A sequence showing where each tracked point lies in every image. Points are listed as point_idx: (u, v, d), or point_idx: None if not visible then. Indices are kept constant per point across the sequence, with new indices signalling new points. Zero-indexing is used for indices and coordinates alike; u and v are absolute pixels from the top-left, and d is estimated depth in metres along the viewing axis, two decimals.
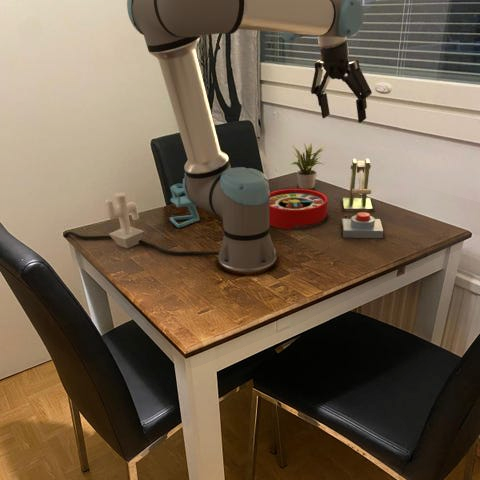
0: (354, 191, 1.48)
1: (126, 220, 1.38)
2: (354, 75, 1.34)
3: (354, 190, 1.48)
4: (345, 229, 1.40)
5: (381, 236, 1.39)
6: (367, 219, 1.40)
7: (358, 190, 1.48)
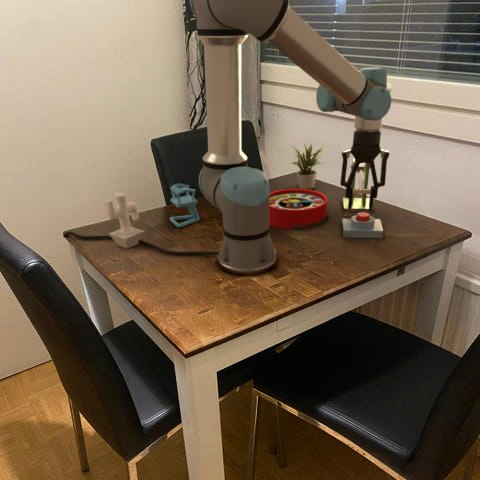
0: (354, 191, 1.48)
1: (126, 220, 1.38)
2: (384, 163, 1.42)
3: (354, 190, 1.48)
4: (345, 229, 1.40)
5: (381, 236, 1.39)
6: (367, 219, 1.40)
7: (358, 190, 1.48)
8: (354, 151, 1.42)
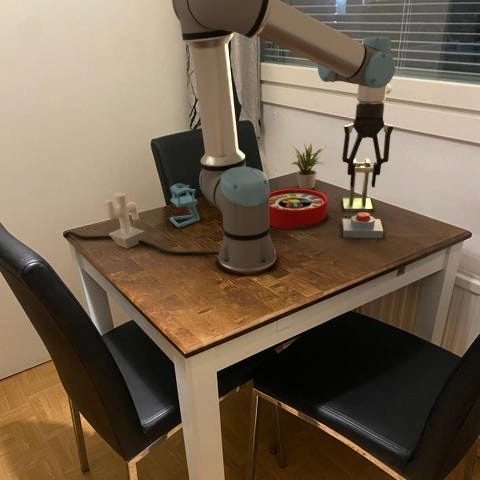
0: (356, 168, 1.44)
1: (126, 220, 1.38)
2: (388, 138, 1.38)
3: (356, 167, 1.44)
4: (345, 229, 1.40)
5: (381, 236, 1.39)
6: (367, 219, 1.40)
7: (361, 167, 1.44)
8: (357, 125, 1.37)
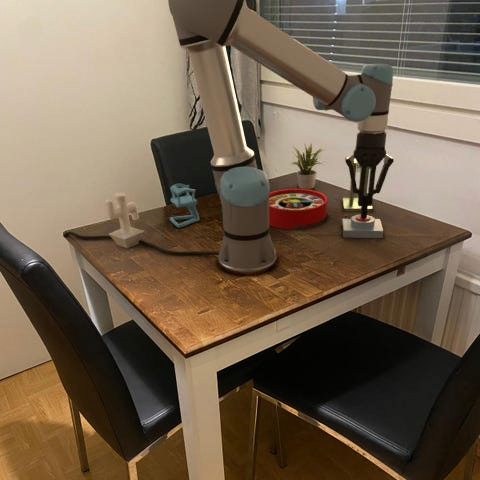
0: None
1: (126, 220, 1.38)
2: (386, 170, 1.32)
3: None
4: (345, 229, 1.40)
5: (381, 236, 1.39)
6: None
7: None
8: (357, 154, 1.31)
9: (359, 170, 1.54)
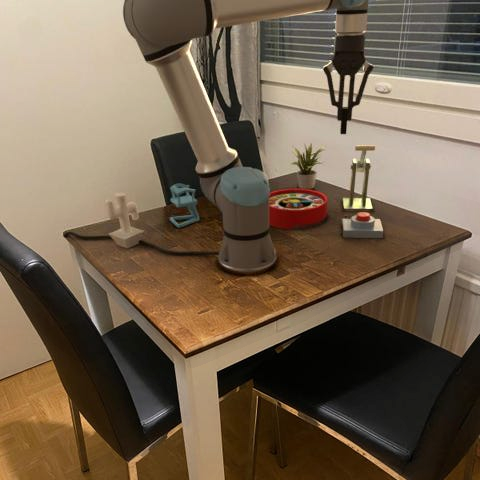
0: (357, 145, 1.43)
1: (126, 220, 1.38)
2: (365, 78, 1.27)
3: None
4: (345, 229, 1.40)
5: (381, 236, 1.39)
6: (367, 219, 1.40)
7: None
8: (335, 61, 1.25)
9: (359, 170, 1.54)
